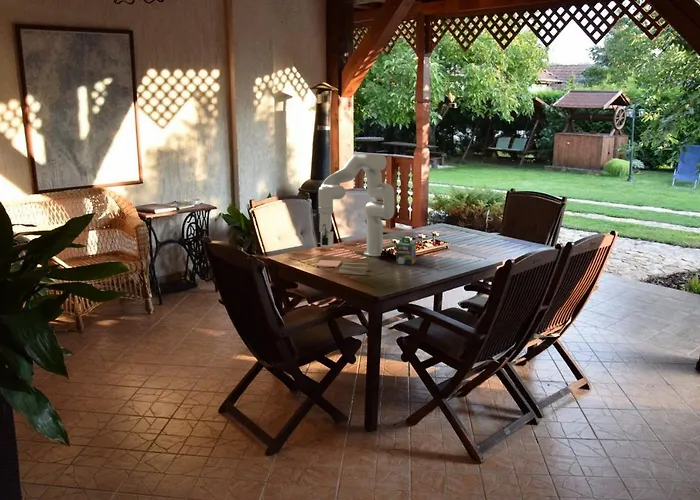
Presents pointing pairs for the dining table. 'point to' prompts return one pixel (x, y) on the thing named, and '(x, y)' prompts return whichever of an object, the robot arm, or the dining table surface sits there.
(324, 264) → the terracotta tile
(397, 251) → the chalk box
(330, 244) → the cream block
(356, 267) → the slot rack
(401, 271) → the dining table surface
